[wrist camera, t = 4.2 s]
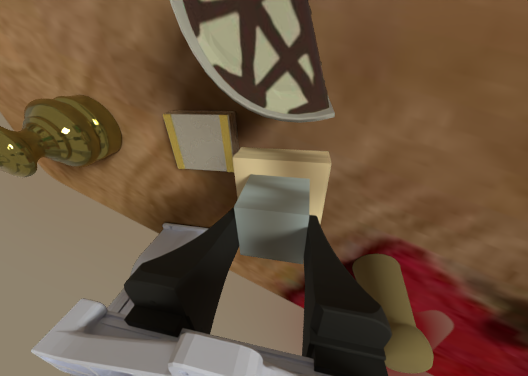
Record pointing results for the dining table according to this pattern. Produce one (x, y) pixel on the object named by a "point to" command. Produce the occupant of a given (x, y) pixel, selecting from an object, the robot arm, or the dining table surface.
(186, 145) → the dock
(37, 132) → the olive shiny rounded piece
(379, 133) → the dining table surface
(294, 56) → the food container
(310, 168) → the stacked blocks
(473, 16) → the dining table surface
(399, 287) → the cork
